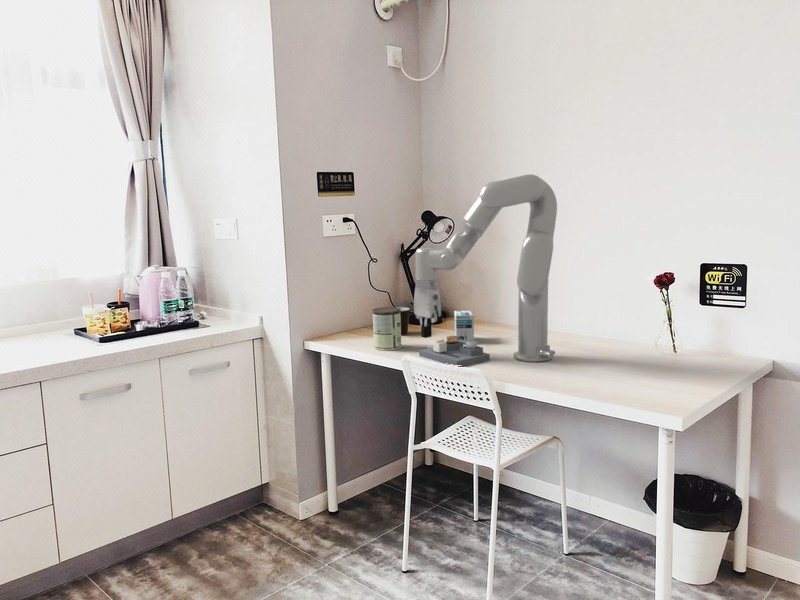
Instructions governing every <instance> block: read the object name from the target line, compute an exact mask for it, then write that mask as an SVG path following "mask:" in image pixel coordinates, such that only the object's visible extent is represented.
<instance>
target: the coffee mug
mask: <svg viewBox="0 0 800 600" xmlns="http://www.w3.org/2000/svg"><path fill="white" fill-rule="evenodd" d="M395 308H400V309H401V311H400V317H401V336H405V335H408V332H409V330H408V329H409V323H410V322H409V320H410V310H411V309H410V308H409V307H404V306H400V307H396V306H395Z"/></svg>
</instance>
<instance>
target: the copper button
mask: <svg viewBox="0 0 800 600" xmlns="http://www.w3.org/2000/svg"><path fill="white" fill-rule="evenodd" d="M446 341H447V343H448V344H456V343H457V336H455V335H447V336H446Z"/></svg>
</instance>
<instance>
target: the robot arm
mask: <svg viewBox="0 0 800 600" xmlns="http://www.w3.org/2000/svg"><path fill="white" fill-rule="evenodd" d="M557 202H558V201H557V198H556V193H555V192H554V189H553V188H552V187H551V186H550V185H549V184H548V182H546V181H545V180H544V179H543V178H541V177H539V176H538V175H535V174H533V173H532V174H531V173H530V174H525V175H520V176H514V177H511V178H506V179H501V180H496V181H490V182H488V183H486V184H484V185H483V187H482V188H481V190H480V192H479V194H478V197H477V198H476V199H475V201H474V202H473V204H472V205H471V206H470V208H469V209H468V210H467V211H466V213H465V214H464V216H463V218H462V219H461V221H460V225H459V227H458V229H457V230H456V232H455V234H454V235H453V236H452V238H451V240H450V241H449V242H448V244H447V245H446V246H445V248H441V249H440V248H439V249H436V248H434V247H419V248H417V249H416V251H415V288H414V294H413V295H414V297H413V313H414V315H415V319H417V320H418V321H419V324H420V327H421V328H420V329H421V331H420V332H421V334H420V336H421V338H425V339H426V338H431V337H432V326H433V325H434V323H437V322H438V318H440V317H441V316H442V310H441V309H442V305H441V295H440V294H441V293H440V289H439V288H438V285H439V284H438V283H439V282H438V275H439V273H438V271H445V272H449V271H453V270H455V269H456V268H458V266H460V265H461V264H462V263H463V262H464V259H465V258H466V257H467V256H468V254H469V253H470V251H471V250H472V249H473V247H474V246H475V245H476V243H477V242H478V240H479V239H481V237H482V236H483V235H484V234H485V232H486V231H487V229H488V228H489V226H490V225H491V224H492V223H493V221H494V219H495V218H496V217H497V216H498V214H499V213H500V211H501V210H502V209H503V208H507V207H511V206H518V205H521V204H526V203H529V208H530V209H529V217H528V223H527V224H528V226H527V230H526V234H525V235H526V236H525V238H524V240H523V241H522V247H521V251H520V258H519V263H518V271H517V276H516V285H517V288H518V313H517V314H518V315H517V316H518V322H517V323H518V326H517V327H518V333H517V334H518V336H517V337H518V351H515V352H514V353H513V359H515V360H517V361H522V362H529V363H531V362H532V363H533V362H534V363H538V362H547V361H550V360H552V359H553V357H554V356H555V354H556V351H555V350H552V349H551V346H550V344H548V332H549V331H548V326H549V321H548V317H549V315H548V313H549V277H550V270H551V265H552V258H553V252H554V235H555V229H556V221H557V215H558V214H557V213H558V203H557Z"/></svg>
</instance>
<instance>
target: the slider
mask: <svg viewBox="0 0 800 600" xmlns="http://www.w3.org/2000/svg"><path fill="white" fill-rule="evenodd" d="M432 343H433V344H432V346H433V347H432V348H433V351H436V352H444V351H447V342H446V341H445V339H444V338H440V339H435V341H433V342H432Z"/></svg>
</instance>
